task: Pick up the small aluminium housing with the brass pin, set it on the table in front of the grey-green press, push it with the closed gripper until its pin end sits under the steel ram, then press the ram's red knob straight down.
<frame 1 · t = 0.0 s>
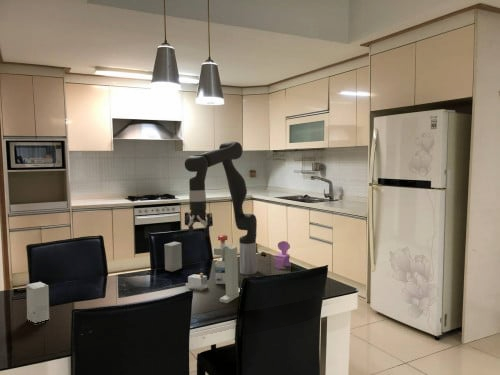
hand: (198, 235, 180), 29 cm above the table, tool pointing down, fingers open, 8 cm apart
purple upright piece: (282, 267, 231), on the table
press frame: (230, 296, 182), on the table
ram: (223, 251, 183), point 21 cm above the table, slide at 0.0 cm
skincare box 2: (38, 320, 160), on the table
housing: (197, 288, 197), on the table
skincare box: (173, 269, 232), on the table
light bulb box: (224, 281, 207), on the table
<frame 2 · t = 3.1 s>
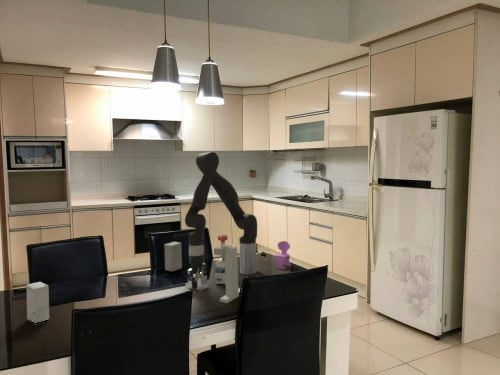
hand: (197, 286, 196), 0 cm above the table, tool pointing down, fingers closed on housing, 5 cm apart
housing: (197, 287, 197), on the table, touching gripper
everything else where it was.
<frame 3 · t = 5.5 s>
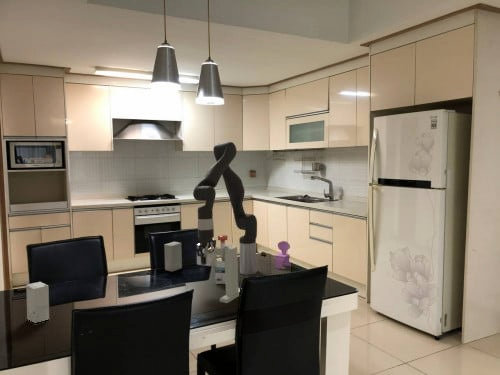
hand: (206, 262, 188), 15 cm above the table, tool pointing down, fingers closed on housing, 5 cm apart
housing: (206, 264, 188), point 14 cm above the table, touching gripper
everything else where it was.
when the fingers open (2 cm above the table, at t = 8.1 s): housing drops 1 cm, on the table.
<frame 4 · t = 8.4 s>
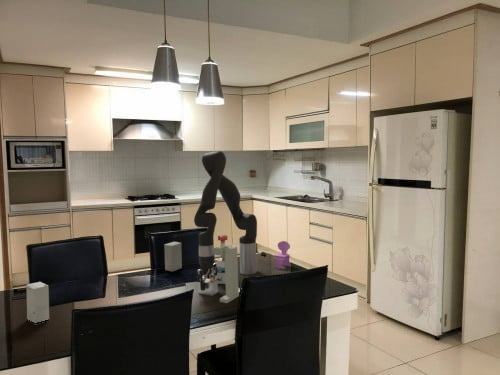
hand: (207, 287, 188), 2 cm above the table, tool pointing down, fingers open, 7 cm apart
housing: (208, 292, 189), on the table
everything else where it was.
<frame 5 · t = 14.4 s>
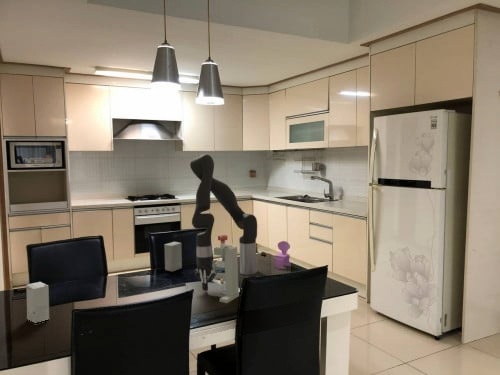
hand: (205, 290, 189), 1 cm above the table, tool pointing down, fingers closed
housing: (218, 294, 186), on the table, touching hand
everything else where it was.
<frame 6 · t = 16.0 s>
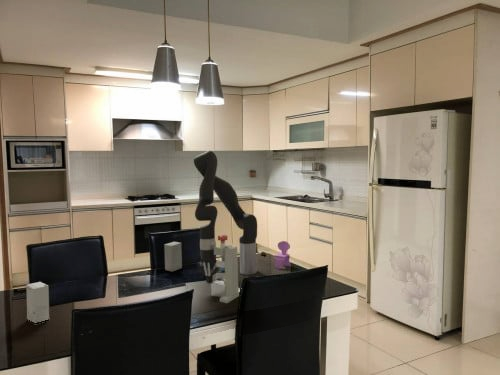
hand: (209, 283, 188), 5 cm above the table, tool pointing down, fingers closed
housing: (221, 295, 185), on the table
everything else where it was.
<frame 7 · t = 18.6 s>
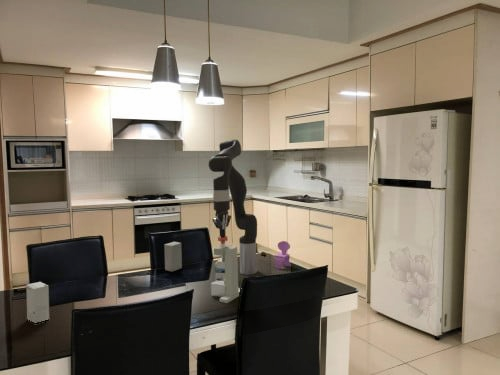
hand: (222, 236, 182), 28 cm above the table, tool pointing down, fingers closed
ram: (223, 251, 183), point 21 cm above the table, slide at 0.3 cm, touching gripper
everything else where it was.
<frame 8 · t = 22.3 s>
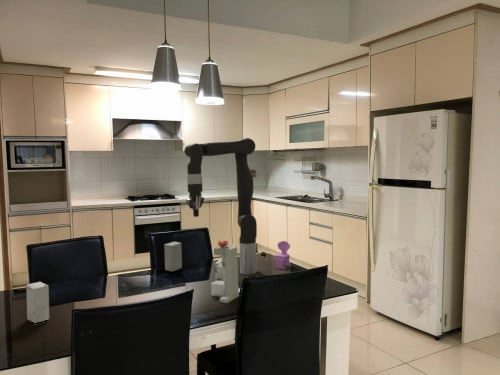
hand: (196, 216, 201), 35 cm above the table, tool pointing down, fingers closed
ram: (223, 256, 183), point 18 cm above the table, slide at 2.6 cm
everything else where it was.
at the end: housing inside the target area (0.5 cm from its centre), on the table; housing tilted 0°; ram slide at 2.6 cm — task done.
